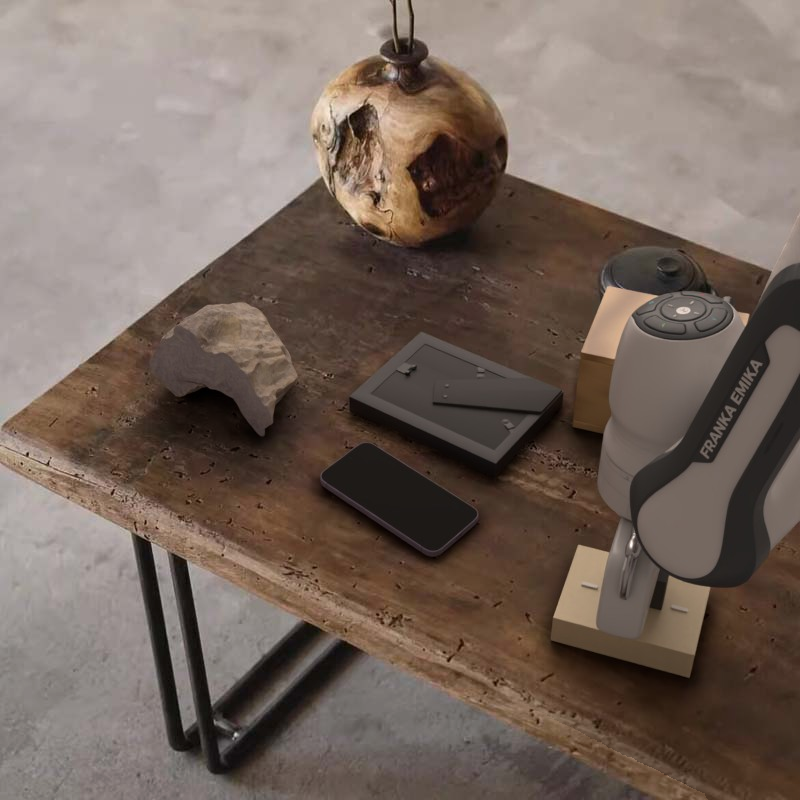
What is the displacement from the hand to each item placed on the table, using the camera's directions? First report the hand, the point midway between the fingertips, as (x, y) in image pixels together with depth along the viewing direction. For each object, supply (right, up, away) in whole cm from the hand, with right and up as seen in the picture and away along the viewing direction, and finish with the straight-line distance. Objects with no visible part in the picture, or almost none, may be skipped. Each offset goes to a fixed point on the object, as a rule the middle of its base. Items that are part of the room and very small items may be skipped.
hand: (635, 589), depth 113 cm
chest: (+6, +16, +24) cm, 30 cm away
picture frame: (-14, +15, +24) cm, 32 cm away
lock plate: (0, -3, +3) cm, 4 cm away
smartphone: (-20, +6, +14) cm, 25 cm away
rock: (-36, +18, +27) cm, 49 cm away
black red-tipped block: (0, -1, +1) cm, 1 cm away
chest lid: (+6, +22, +19) cm, 30 cm away
